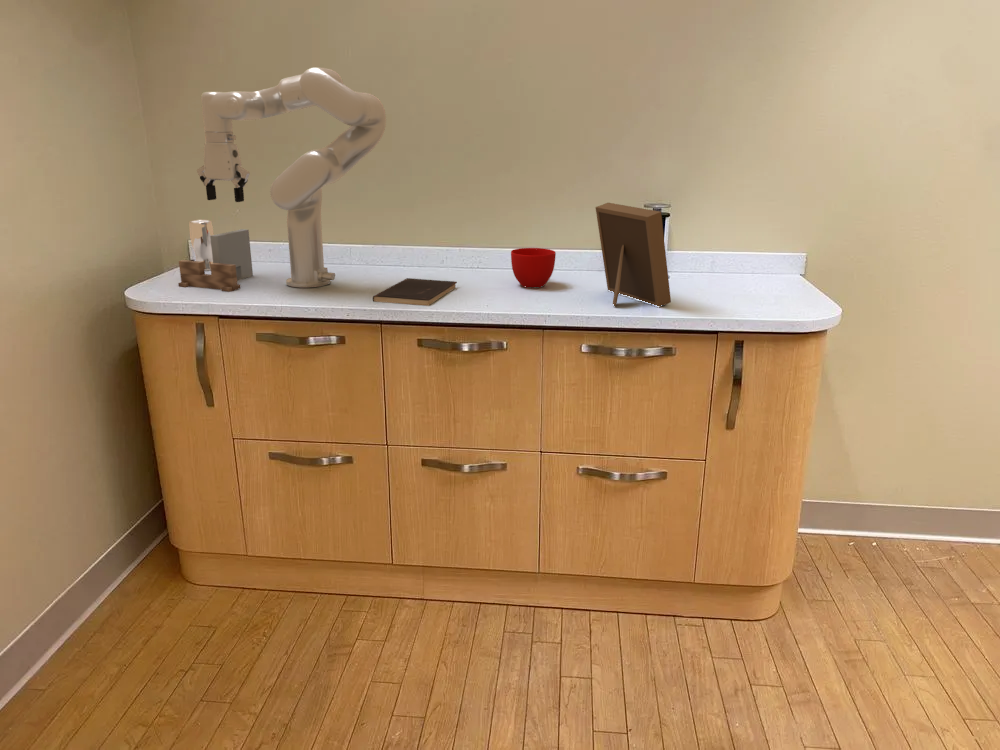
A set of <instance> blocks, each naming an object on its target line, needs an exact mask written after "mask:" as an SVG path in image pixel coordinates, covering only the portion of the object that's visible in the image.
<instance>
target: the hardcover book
mask: <svg viewBox="0 0 1000 750" xmlns="http://www.w3.org/2000/svg"><path fill="white" fill-rule="evenodd" d="M457 283H458V282H457V281H454V280H453V281H451V280H450V281H449V280H438V279H437V280H436V279H425V278H422V279H421V278H411V277H409V278H408V277H406V278H405V279H403V280H400V281H399V282H397V283H395V284H393V285H391V286H389V287H387V288H386V289H384V290H382V291H380V292H378V293H377V294H374V295H373V296H372V301H373V303H374V302H378V303H379V302H380V303H388V304H389V303H392V304H404V305H405V304H406V305H416V306H428V307H429V305H431V304H433V303H434V302H435V301H438V299H440V298H442V297H444V296H445V295H447V294H448V293H449V292H451V291H453V290H454V289H456V284H457ZM446 293H447V294H446Z"/></svg>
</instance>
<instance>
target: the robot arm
mask: <svg viewBox="0 0 1000 750" xmlns="http://www.w3.org/2000/svg"><path fill="white" fill-rule="evenodd" d="M200 97H201V98H200V99H201V109H202V110H201V111H202V119H203V121H202V122H203V127H204V138H205V139H204V140H205V143H204V146H203V165H201V166H200V167H199V168H197V169H196V173H197V174H198V176H199V179H200V181H201V182H202V183H203V186H205V191H206V199H207V201H214V200H216V199H217V192H216V185H215V181H228V182H229V181H231V183H232V184H233V185H234V187H233V193H234V194H233V195H234V202H235V203H241V202H245V201H244V200H245V193H244V188H245V187H246V185H247V183H248V181H249V180H248V179H249V176H250V171H248V170H247V169H246V168H244V167H243V166H242V165H243V164H242V160H241V159H242V158H241V154H240V151H239V148H238V145H237V143H235V140H236V139H237V135H236V134H234V127H233V121H257V120H263V119H267V118H271V117H275V116H279V115H282V114H283V115H284V114H286V113H292V112H295V111H298V110H304V109H308V108H312V107H315V106H316V107H318V108H319V109H321V110H322V111H324V112H326V113H327V114H329V115H331V116H332V117H333V118H335V119H337V120H338V121H339V122H341V123H343V124H345V125H347V126H349V128H347V129H345V130H344V131H342V132H340V134H339V135H338V136H337V137H336V138H335V139H334V140H333V141H331V142H330V143H328V144H327V145H326V146H324V147H321V148H316V149H311V150H308V151H307V152H305V153H303V154H302V155H301V156H299V157H298V158H297V159H296V160H294V161H293V162H292V163H291V164H290V165H289V166H288V167H286V168H285V169H284V170H283V171H282V172H281V173H280V174H278V176H277V177H276V178H275V179H274V180H273V182H272V183H271V186H270V191H269V192H270V197H271V200H272V202H273V203H274V205H275V206H276V207H278V208H279V209H281V210H285V211H287V214H286V215H287V216H286V227H287V241H288V251H289V255H288V256H289V265H290V266H289V267H290V275H291V276H290V277H289V278H287V279H286V280H285V284H286V285H287V286H288V287H291V288H292V287H293V288H304V289H305V288H307V289H308V288H319V287H323V286H328V285H330V283H331V281H334V280H335V279H336V273H335V272H329V271H328V267H325V262H324V261H325V259H324V258H325V257H324V246H323V245H324V244H323V243H324V242H323V232H322V229H323V228H322V227H323V226H322V202H323V190H322V188H323V187H325V186H327V185H331V184H334V183H336V182H338V181H339V180H340V179H342V178H343V177H344V176H345V174H347V173H348V172H350V170H352V169H353V168H354V167H355V166H356V165H357V164H358V163H359V162H360V161H362V160H363V158H365V157H366V156H367V155H368V154H369V153H370V152H371V151H372V150H373V149H374V148H376V146H377V145H378V144H379V143H380V141H381V139H382V137H383V135H384V134H385V131H386V127H387V114H386V110H385V107H384V104H383V103H382V101H381V100H380V99H379V98H378V97H377V96H375V95H374V94H372V93H369V92H360V91H355V90H353V89H352V88H350V87H349V86H347V85H345V84H344V82H343V79H342V76H340V74H339V73H338V72H337V71H335V70H333V69H331V68H326V67H320V66H319V67H318V66H317V67H316V66H314V67H310V68H308V69H306V70H304V71H303V73H301V74H300V73H299V74H296V75H293V76H288V77H284V78H282V79H280V80H279V82H278V84H277V85H275V86H271V87H269V88H268V87H267V88H263V89H260V90H255V91H244V90H242V91H239V90H238V91H237V90H235V91H234V90H233V91H227V92H225V91H224V92H223V91H204V92H202V94H201V96H200Z"/></svg>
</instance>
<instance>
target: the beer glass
mask: <svg viewBox="0 0 1000 750" xmlns="http://www.w3.org/2000/svg"><path fill="white" fill-rule="evenodd" d="M188 222H189V223H188V224H189V226H188V227H189V228H188V229H189V237H190V241H191V246H192V250H193V253H194V255H195V261H200V262H204V270H205V272H206V271H211V267H210V264H212V263H213V256H212V248H211V239H210V236H212V235H215V234H214V227H213V224H212V223H213V221H212V220H210V219H194V220H190V221H188Z"/></svg>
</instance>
